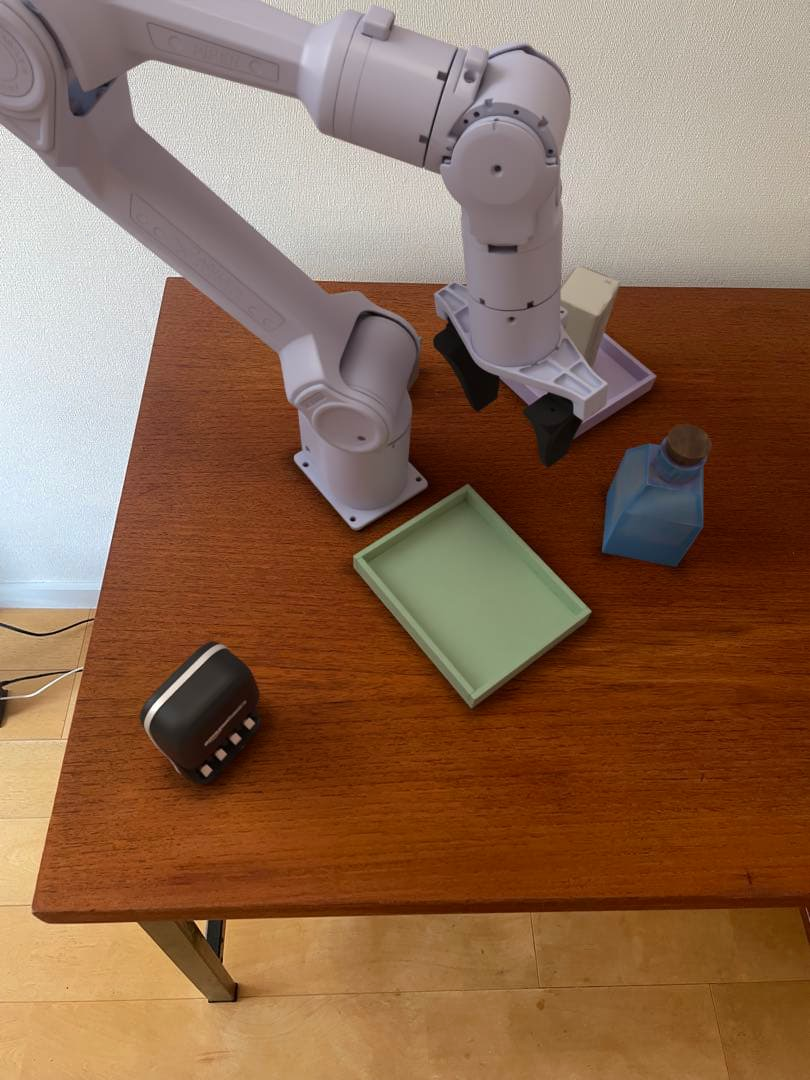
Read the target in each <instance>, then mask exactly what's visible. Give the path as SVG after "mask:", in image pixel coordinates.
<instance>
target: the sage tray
mask: <svg viewBox="0 0 810 1080" xmlns="http://www.w3.org/2000/svg"><path fill="white" fill-rule="evenodd" d="M352 557H353V562H352V563H353V566H352V567H353V569H354V570H355V571H356V572H357V573H358V575H359V576H360V577H361V578H362V580H364V582H365V583H366V584H367V585H368V587H369V588H370V590H372V591H373V593H374V594H375V595H376V596H377V597H378V599H380V601H381V602H382V603H383V605H384V606H385V607H386V608H387V609H388V610H389V612H390V613H391V615H393V617H394V618H395V619H396V620H397V621H398V623H399V624H400V625H401V626H402V627H403V629H404V630H405V632H406V633H408V634H409V636H410V637H411V638H412V639H413V641H414V642H415V643H416V644H417V645H418V647H419V648H420V650H422V651H423V653H424V654H425V655H426V656H427V657H428V658H429V660H430V661H431V662H432V663H433V665H434V666H435V667H436V668H437V670H438V671H439V672H440V673H441V674H442V675H443V677H445V679H446V680H447V681H448V682H449V684H450V685H451V686H452V687H453V689H454V690H455V691H456V692H457V693H458V695H459V696H460V697H461V698H462V700H463V701H464V702H465V703H466V704H467V705H468V706H469V708H470V709H473V708H475V707H476V706H477V705H479V704H480V703H481V702H483V701H484V700H486V699H487V698H488V697H489V696H491V695H492V694H493V693H494V692H496V691H497V690H498V689H500V688H501V687H503V685H505V684H506V683H508V682H509V681H511V680H512V679H514V678H515V677H516V676H517V675H518V674H520V673H521V672H522V671H524V670H525V669H526V668H527V667H529V666H530V665H531V664H533V663H534V662H535V661H537V660H538V659H539V658H541V657H542V656H543V655H545V654H546V653H548V651H550V650H551V649H552V648H554V647H555V646H557V645H558V644H559V643H561V642H562V641H563V640H565V639H566V638H567V637H569V635H571V634H572V633H574V632H575V631H576V630H578V629H579V628H581V626H583V625H584V624H586V623H587V621H588V619H589V618H590V616H591V614H592V609H590V608H589V607H588V606H587V605H586V603H584V602H583V601H582V599H580V598H579V596H578V595H577V594H576V593H575V592H574V591H573V590H572V589H571V588H570V587H569V586H568V585H567V584H566V583H565V582H564V581H563V580H562V579H561V578H560V577H559V576H558V575H557V574H556V572H554V571H553V570H552V569H551V567H549V565H548V564H546V563H545V562H544V560H543V559H542V558H541V557H540V556H539V555H538V554H537V553H536V552H535V551H534V550H533V549H532V548H531V547H530V546H529V545H528V544H527V543H526V542H525V541H524V540H523V538H522V537H521V536H519V535H518V534H517V532H515V530H514V529H512V527H511V526H510V525H509V524H508V523H507V522H506V521H505V520H504V519H503V518H502V517H501V515H499V514H498V513H497V512H496V511H495V510H494V509H493V508H492V507H491V505H490V504H489V503H487V502H486V501H485V500H484V499H483V497H481V496H480V494H479V493H478V492H477V491H476V490H475V489H474V488H473V487H472V486H471V485H470V484H469V483H467V484H464V485H463V486H462V487H460V488H459V489H457V490H455V491H454V492H452V493H451V494H449V495H448V496H446V497H445V498H443V499H441V500H439V501H438V502H437V503H434V504H433V505H431V506H430V507H428V508H427V509H425V510H424V511H422V512H420V513H419V514H417V515H415V516H414V517H413V518H411V519H409V520H408V521H406V522H404V523H403V524H401V525H400V526H398V527H396V528H395V529H393V530H392V531H390V532H389V533H387V534H385V535H384V536H382V537H381V538H379V539H377V540H376V541H373V543H371V544H369V545H368V546H367V547H365V548H363V549H362V550H360V551H358V552H357V553H355V554H354V555H353V556H352Z"/></svg>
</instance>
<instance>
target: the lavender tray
mask: <svg viewBox="0 0 810 1080" xmlns="http://www.w3.org/2000/svg"><path fill="white" fill-rule="evenodd" d="M591 368H592V370H593V371H594V372H595V373H596V374H597V375H598V376H599V377H600V378H602V379H603V380H604V381H606V382H607V383H608V391H607V401H606V405H605V406H604V407H603V408H601V409H600V410H599V411H598V412H596V413H595V414H594V415H592V416H591V417H589V418H588V419H587V420H585V421H583V422H582V423H581V425H580V427H579V428H578V430H577V432H576V434H575V436H574V439H576V438H578V437H579V436H580V435H583V434H584V433H586V432H587V431H588V430H590V429H591V428H593V427H595V426H597V425H598V424H599V423H601V422H602V421H604V420H606V419H607V418H609V417H610V416H612V415H614V414H615V413H617V412H618V411H620V410H622V409H623V408H624V407H626V406H627V405H630V404H631V403H632V402H634V401H635V400H637V399H638V398H640V397H642V396H643V395H644V394H646V393H647V392H649V391H652V387H653V385H654V383H655V382H656V378H657V375H656V374H655V373H654V372H653V371H651V370H650V369H649V368H648V367H646V366H645V365H644V364H643V363H641V362H640V360H638V359H637V358H636V357H634V356H633V355H632V354H631V353H630V352H629V351H627V350H626V349H625V348H624V347H622V346H621V345H620V344H619V343H617V341H615V340H614V339H613V338H611V336H609V335H608V334H607V333H606V332H604V334H603V338H602V341H601V344H600V347H599V350H598V353H597V356H596V359H595V362H594V364H593V366H592V367H591ZM499 380H501V381H502V382H503V383H504V384H505V385H507V387H509V388H510V389H511V390H512V391H513V392H514V393H515V394H516V395H517V396H518V397H519V398H520V399H522V400H523V401H524V402H525V403H526V404H527V406H529V405H531V404H532V403H533V402H535V401H536V400H537V399H539V398H540V397H542V396H543V395H544V394H545V395H546V394H547V393H548V392H547V391H544V390H541V389H538V388H535V387H532V386H529V385H525V384H522V383H519V382H516V381H513V380H510V379H507V378H504V377H501V376H499Z"/></svg>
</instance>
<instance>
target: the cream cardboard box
mask: <svg viewBox="0 0 810 1080" xmlns="http://www.w3.org/2000/svg"><path fill="white" fill-rule="evenodd" d="M620 287H621V280H620V279H616V278H614V277H611V276H609V275H606V274H604V273H602V272H600V271H596V270H595V269H592V268H589V267H586V266H583V265H581V264H576V265H575V266H574V267H573V269H572V270H571V271H570V272H569V274H568V275H567V277H566V278H565V280H564V281H563V283H561V303H560V306H562V307H563V308H565V309H566V310H567V311H568V321H567V322H566V323H565V324H563V325H562V327H563V328H564V330H565V331H566V333H567V334H568V335H569V337H570V338H571V340H572V341H573V343H574V344H575V346H576V347H577V349H578V350H579V351H580V353H581V354H582V356H583V357H584V359H585V360H586V362H587V363H588V365H589V366H590V367H592V366H593V364H594V362H595V359H596V356H597V353H598V350H599V347H600V344H601V341H602V338H603V334H604V333H605V331H606V328H607V325H608V322H609V319H610V317H611V313H612V311H613V307H614V304H615V301H616V297H617V295H618V291H619V288H620Z"/></svg>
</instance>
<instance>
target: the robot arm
mask: <svg viewBox="0 0 810 1080" xmlns="http://www.w3.org/2000/svg"><path fill="white" fill-rule="evenodd" d="M395 22H396V13H395V11H393V10H391V9H387V8H385V7H381V6H379V5H377V4H371V5H370V6H369V8H368V10H367V11H366V13H364V12H360V11H359V10H358V11H357V10H355V9H352V8H348V9H345V10H343V11H341V12H339V13H338V14H336V15H335V16H334V17H332V18H330V19H328V20H326V21H324V22H322V23H319V24H314V23H312V22H310V21H308V20H306V19H303V18H301V17H300V16H296V15H294V14H292V13H289V12H287V11H284V10H283V9H280V8H278V7H275V6H273V5H271V4H269V3H267V2H265V1H262V0H0V125H1V126H3V128H5V129H6V130H7V131H8V132H9V133H11V134H12V135H14V137H16V138H17V139H19V140H20V141H21V142H22V143H23V144H25V145H26V146H27V147H28V148H29V149H31V150H32V151H33V152H34V153H36V155H37V156H38V157H39V158H40V159H41V161H42V162H43V163H44V164H45V166H47V167H48V168H49V169H50V170H51V171H52V172H53V173H54V174H55V175H56V176H57V177H58V178H60V179H61V180H62V181H63V182H64V183H66V184H67V185H68V186H70V187H71V189H73V190H74V191H76V192H77V193H78V194H80V195H81V196H82V197H83V198H85V199H86V200H87V201H88V202H89V203H90V204H91V205H93V206H94V207H96V208H97V209H98V210H99V211H100V212H101V213H103V214H104V215H106V217H108V218H109V219H110V220H112V221H113V222H114V223H115V224H117V226H119V227H120V228H122V229H123V230H124V231H125V232H126V233H128V234H129V235H130V236H131V237H133V238H134V239H135V240H137V242H139V243H140V244H141V245H143V246H144V247H145V248H146V249H147V250H149V251H150V252H151V253H153V254H154V255H155V256H156V257H157V258H158V259H160V260H161V261H162V262H164V264H166V265H167V266H168V267H170V268H171V269H172V270H174V271H175V272H176V273H177V274H178V275H180V276H181V277H182V278H184V279H185V280H186V281H187V282H189V284H191V285H192V286H193V287H194V288H196V289H197V290H198V291H200V292H201V293H202V294H203V295H204V296H206V297H207V298H208V299H210V300H211V301H212V302H213V303H215V305H217V306H218V307H220V309H222V310H223V311H224V312H226V313H227V314H228V315H229V316H230V317H232V318H233V319H234V320H236V321H237V322H238V323H239V324H240V325H242V326H243V327H245V329H247V330H248V331H249V332H250V333H252V334H253V335H254V336H256V337H257V339H259V340H260V341H262V342H263V344H265V345H266V346H267V347H269V348H270V349H271V350H273V351H274V352H275V353H277V355H278V358H279V361H280V367H281V372H282V373H281V374H282V378H283V384H284V385H283V386H284V391H285V396H286V399H287V402H289V403H290V405H292V406H293V407H294V408H296V409H297V415H298V425H299V433H300V434H299V435H300V443H301V451H298V452H297V453H295V454H294V456H293V461H294V463H295V464H296V466H298V468H299V469H300V470H301V471H302V473H304V475H305V476H306V477H307V478H308V479H309V480H310V482H311V483H312V484H313V485H314V486H315V488H316V489H317V490H318V491H319V492H320V493H321V494H322V496H323V497H324V498H325V499H326V500H327V502H328V503H329V504H330V505H331V506H332V507H333V508H334V510H335V511H336V512H337V513H338V514H339V515H340V517H341V518H342V519H343V520H344V521H345V522H346V524H347V525H348V526H349V528H351V530H353V531H360V530H361V529H363V528H365V527H366V526H368V525H369V524H371V523H373V522H375V521H376V520H378V519H379V518H382V517H383V516H385V515H386V514H388V513H389V512H391V511H392V510H395V509H396V508H397V507H399V506H400V505H402V504H404V503H405V502H407V501H408V500H410V499H412V498H414V497H415V496H417V495H418V494H421V492H423V491H425V490H426V489H427V488H428V486H429V483H428V480H426V478H425V477H424V476H423V475H422V474H421V473H420V472H419V471H418V470H417V469H416V467H414V466H413V464H412V463H410V460H409V455H410V444H411V443H410V441H411V432H412V431H411V430H412V429H411V428H412V417H413V405H412V400H411V397H410V394H409V391H407V388H406V387H407V384H408V381H409V378H410V375H411V372H412V369H413V366H414V364H415V363H416V361H417V360H418V357H419V354H420V347H421V348H422V345H421V346H420V340H419V337H418V336H419V335H418V333H417V331H416V329H415V328H414V327H413V326H412V324H410V323H409V321H407V320H406V319H405V318H403V317H402V316H400V315H399V314H397V313H395V312H392V311H391V310H387V309H385V308H383V307H381V306H379V305H377V304H375V303H374V302H372V300H370V299H369V298H367V297H366V296H365V295H364V293H362V292H361V291H359V290H351V291H344V292H337V293H328V292H327V291H326V290H324V289H323V288H322V287H321V286H320V285H319V284H318V283H317V282H315V281H314V280H313V279H312V278H311V277H310V276H309V275H308V274H307V273H305V272H304V270H302V269H301V268H300V267H299V266H297V264H295V262H293V261H292V260H291V259H290V258H288V257H287V256H286V255H285V254H284V253H283V252H282V251H280V249H279V248H278V247H276V246H275V245H274V244H273V243H272V242H270V240H268V239H267V238H266V237H265V236H264V235H263V234H262V233H261V232H259V231H258V230H257V229H256V228H255V227H254V226H253V225H252V224H250V223H249V222H248V221H247V220H246V219H245V218H244V217H243V216H242V215H240V214H239V213H238V212H237V211H236V210H235V209H233V208H232V207H231V206H230V204H228V203H227V202H226V201H225V200H223V199H222V197H220V196H219V195H218V194H216V192H215V191H213V190H212V189H211V187H209V186H208V185H206V183H204V182H203V181H202V180H201V179H200V178H199V177H198V176H197V175H195V174H194V173H193V172H192V171H191V170H189V169H188V168H187V166H185V165H184V164H183V163H182V162H181V161H179V160H178V158H176V157H175V156H174V155H173V154H171V152H170V151H168V150H167V148H165V147H164V146H163V145H162V144H161V143H159V142H158V141H157V140H156V139H155V138H154V137H153V136H151V134H150V133H148V132H147V131H146V130H145V129H144V128H142V127H141V126H140V125H139V124H138V122H137V121H136V118H135V115H134V110H133V104H132V103H133V102H132V98H131V92H130V86H129V79H128V72H129V71H130V70H132V69H134V68H136V67H138V66H140V65H142V64H143V63H146V62H149V61H155V62H160V63H163V64H167V65H170V66H173V67H178V68H180V69H184V70H188V71H191V72H192V71H193V72H196V73H199V74H203V75H207V76H211V77H214V78H219V79H221V80H224V81H225V80H226V81H230V82H232V83H236V84H240V85H244V86H248V87H251V88H255V89H259V90H262V91H266V92H269V93H273V94H277V95H280V96H283V97H288V98H290V99H296V100H299V101H300V102H301V104H302V105H303V106H304V108H305V109H306V112H307V113H308V115H309V116H310V119H311V120H312V121H313V123H314V125H315V127H316V128H317V130H318V131H319V132H320V133H321V134H322V135H325V136H327V137H331V138H334V139H336V140H340V141H342V142H345V143H348V144H351V145H354V146H357V147H360V148H362V149H365V150H368V151H370V152H374V153H377V154H380V155H382V156H385V157H388V158H391V159H394V160H397V161H400V162H403V163H405V164H409V165H411V166H414V167H417V168H420V169H424V170H426V171H428V172H431V173H435V174H437V175H440V176H441V180H442V182H443V184H444V186H445V188H446V190H447V192H448V193H449V194H450V196H451V197H452V198H453V200H454V201H456V203H457V204H458V205H459V206H460V212H461V214H460V232H461V241H462V251H463V261H464V263H463V264H464V273H465V274H464V275H465V285H464V284H462V283H461V282H459V281H457V280H456V279H455V280H453V281H451V282H450V283H448V284H447V285H445V286H444V287H442V288H440V289H439V290H438V291H436V292H434V293H433V298H434V305H435V306H434V307H435V313H436V316H437V317H438V318H440V319H441V320H443V321H447V323H446V324H445V328H444V329H442V330H441V331H439V332H437V333H436V334H435V335H434V336H433V339H432V344H433V348H434V349H435V350H436V351H437V352H438V353H439V354H440V355H441V356H442V357H443V358H444V359H445V361H446V362H447V364H448V365H449V366H450V368H451V369H452V371H453V373H454V374H455V376H456V378H457V380H458V382H459V384H460V386H461V388H462V390H463V392H464V395H465V397H466V400H467V401H468V404H469V405H470V407H471V409H472V410H474V411H475V412H476V413H478V412H480V411H481V410H484V409H485V408H486V407H487V406H489V405H490V404H491V403H493V402H495V400H496V401H497V399H498V396H499V392H500V378H499V376H501V377H504V378H507V379H510V380H513V381H516V382H519V383H522V384H525V385H529V386H532V387H535V388H538V389H541V390H544V391H547V392H548V393H547V394H546V395H545V394H544V395H543V396H542V397H540V398H539V399H537V400H536V401H535V402H533V403H532V404H531V405H527V406H526V407H525V408H523V410H522V414H523V415H524V416H525V417H526V419H527V421H529V423H530V425H531V426H532V429H533V431H534V434H535V437H536V443H537V454H538V457H539V461H540V463H541V464H542V465H543V466H545V467H546V468H551V467H552V466H554V465H555V464H556V463H558V462H559V461H560V460H562V459H563V458H564V457H565V456H567V455H568V453H569V451H570V448H571V446H572V443H573V440H574V439H575V438H574V436H575V434H576V432H577V430H578V428H579V427H580V425H581V423H582V422H583V421H585V420H587V419H588V418H589V417H591V416H592V415H594V414H595V413H596V412H598V411H599V410H600V409H601V408H603V407H604V406H605V405H606V401H607V391H608V383H607V382H606V381H604V380H603V379H602V378H600V377H599V376H598V375H597V374H596V373H595V372H594V371H593V370H592V368H591V367H590V366H589V365H588V363H587V362H586V360H585V359H584V357H583V356H582V354H581V353H580V351H579V350H578V349H577V347H576V346H575V344H574V343H573V341H572V340H571V338H570V337H569V335H568V334H567V333H566V331H565V330H564V328H563V327H562V325H563V324H565V323H566V322H567V321H568V311H567V310H566V309H565V308H563V307H562V306H560V303H561V285H562V271H563V269H562V268H563V235H564V234H563V229H564V209H563V203H562V195H563V182H562V177H561V166H562V165H561V156H562V151H563V148H564V147H563V146H564V143H565V139H566V136H567V135H566V134H567V131H568V127H569V122H570V118H571V109H572V108H571V107H572V105H571V104H572V94H571V87H570V84H569V81H568V79H567V77H566V75H565V73H564V71H563V70H562V68H561V67H560V66H559V65H558V63H557V62H556V61H555V60H554V59H552V58H551V57H549V56H548V55H547V54H546V53H544V52H541V51H539V50H537V49H536V48H535V47H533V46H532V45H531V44H530V43H528V42H525V41H515V42H514V41H513V42H507V43H502V44H499V45H497V46H494V47H493V48H490V49H489V50H487V49H485V48H482V47H479V46H477V45H473V44H470V45H469V47H468V50H467V49H465V48H462V47H458V46H456V45H454V44H451V43H448V42H445V41H442V40H439V39H437V38H434V37H431V36H428V35H426V34H422V33H419V32H417V31H414V30H411V29H409V28H405V27H402V26H400V25H397V24H395ZM418 480H419V481H418ZM353 520H354V521H353Z"/></svg>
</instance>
